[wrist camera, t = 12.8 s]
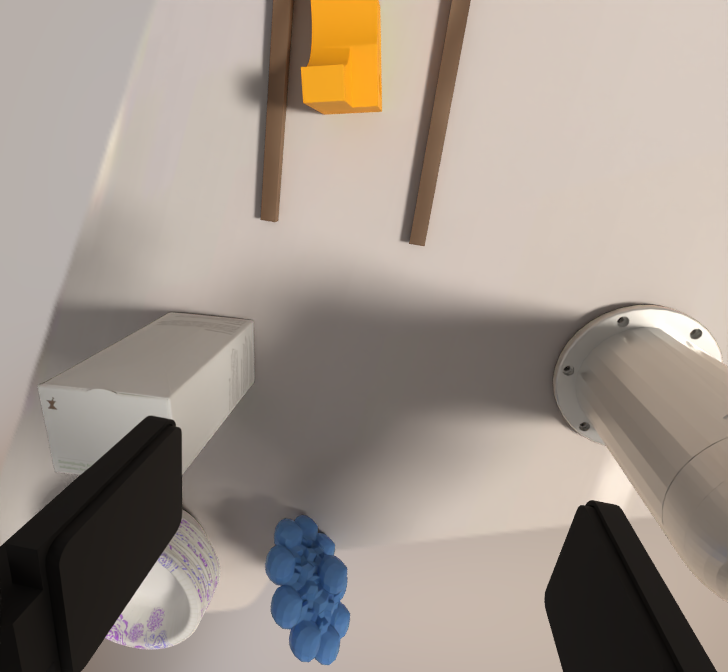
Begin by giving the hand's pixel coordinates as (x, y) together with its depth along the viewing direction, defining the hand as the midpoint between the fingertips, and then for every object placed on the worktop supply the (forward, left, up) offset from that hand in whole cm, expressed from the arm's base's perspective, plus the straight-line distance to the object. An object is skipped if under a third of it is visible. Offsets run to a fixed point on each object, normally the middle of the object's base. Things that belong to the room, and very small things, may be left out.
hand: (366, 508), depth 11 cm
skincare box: (+16, +10, -28) cm, 34 cm away
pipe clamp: (+7, -17, -29) cm, 34 cm away
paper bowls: (+21, +34, -29) cm, 49 cm away
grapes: (+3, +29, -28) cm, 41 cm away
